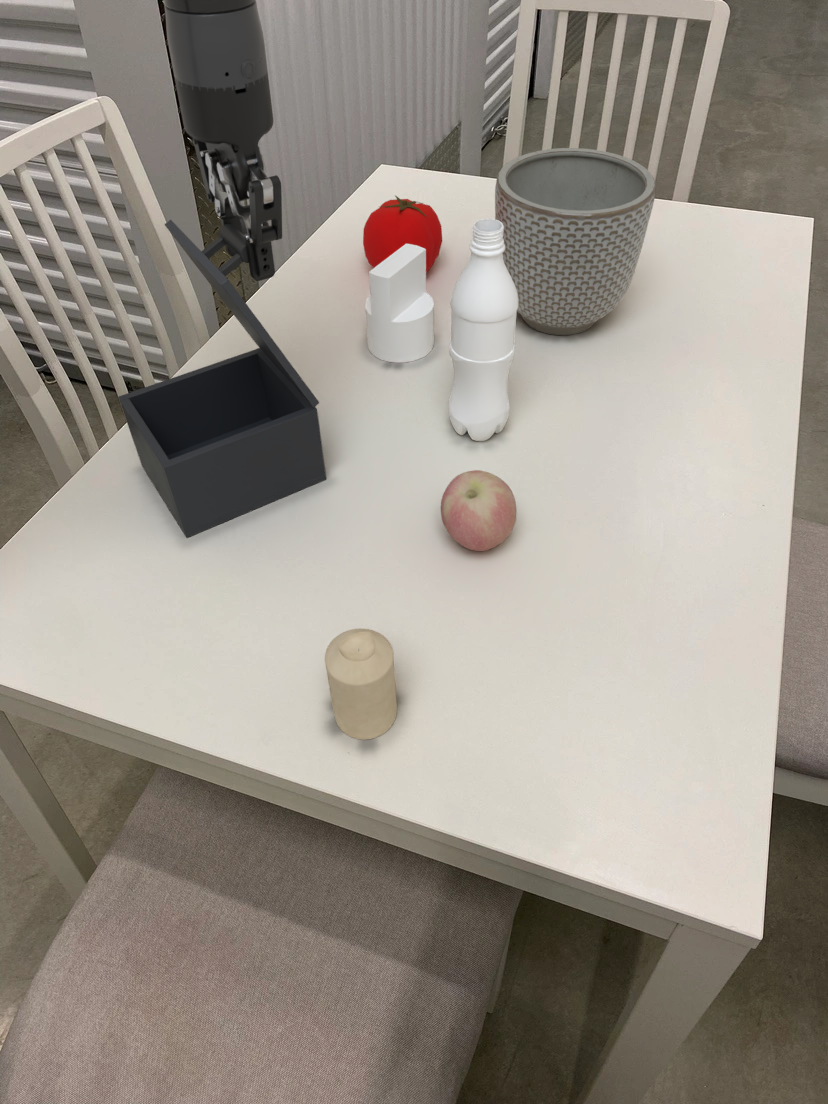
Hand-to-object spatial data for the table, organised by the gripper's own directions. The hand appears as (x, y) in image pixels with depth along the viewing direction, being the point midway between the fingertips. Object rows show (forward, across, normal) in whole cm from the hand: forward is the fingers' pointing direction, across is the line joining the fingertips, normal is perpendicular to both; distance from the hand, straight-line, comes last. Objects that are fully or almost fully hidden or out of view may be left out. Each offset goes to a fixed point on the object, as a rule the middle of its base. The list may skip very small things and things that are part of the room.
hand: (250, 264), depth 78 cm
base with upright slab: (+23, -12, +24) cm, 35 cm away
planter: (+23, -5, +46) cm, 52 cm away
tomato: (+23, -28, +34) cm, 50 cm away
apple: (+24, +24, +11) cm, 35 cm away
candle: (+24, +36, -9) cm, 44 cm away
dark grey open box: (+24, 0, -6) cm, 24 cm away
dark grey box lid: (+5, 0, -2) cm, 6 cm away
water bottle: (+23, +9, +22) cm, 33 cm away
